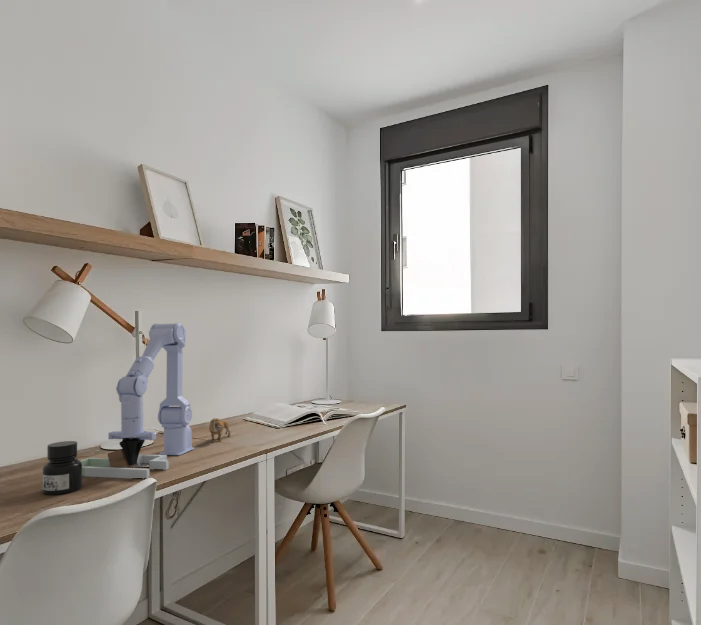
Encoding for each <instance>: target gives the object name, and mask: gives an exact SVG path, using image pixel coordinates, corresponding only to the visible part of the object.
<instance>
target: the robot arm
mask: <svg viewBox="0 0 701 625" xmlns="http://www.w3.org/2000/svg"><path fill="white" fill-rule="evenodd" d="M148 337H149V340H148V342H147V344H146V346H145V348H144V351H143V353H142V355H141V356H138V357H136V358H135V360H134V362H133V363H132V365H131V367H130V368H129V370H128V372H127V373H126V375H125V376H123V377H121V378H120V379H119V380H118V382H117V386H116V389H115V390H116V393H117V394H118V400H119V402H120V406H121V407H120V409H121V410H120V411H121V412H120V413H121V414H120V415H121V417H120V418H121V420H120V421H121V423H120V424H121V428H120V429H121V431H110V432H108V433H107V434H108V435H107V436H108V438H107V439H108V440H121V441H119V446H120V448H121V449H123V451H124V453H125V455H126V458H127V461H128V465H134V464H137V459H138V455H139V454H140V451H141V449H142V447H143V445H144V443H145V442H146V441H147V440H148V441H154V440H157V432H154V431H145V430H144V429H143V427H144V424H143V423H144V422H143V419H144V418H143V416H144V415H143V414H144V413H143V406H144V405H143V404H144V403H143V395H144V394H145V393H146V392H147V388H148V382H149V377H150V375H151V373H152V371H153V369H154V367H155V363H154V361H155V359H156V357H157V355H158V354H159V352H160V351H161V349H162V348H163V349H164V350H165V351H166V394H165V395H166V398H165V399H163V400H162V401H160V403H159V408H158V412H157V421H158V423H159V424H160V425H161V428H163V451H161V452H158V455H167V456H181V455H183V454H185V453H187V452H189V451H192V450H194V449H195V447H193V440H192V439H193V437H192V436H193V430H192V428H191V426H190V425H189V424H190V422H191V421H192V417H193V412H192V409H191V402H190V401H189V400H187V399H186V398H185V397H183V362H184V361H183V355H184V354H183V353H184V352H183V351H184V348H185V347H186V328H185V327H184V325H183V324H182V323H181V322H176V323H175V322H174V323H153V324H151V327H150V328H149V330H148Z"/></svg>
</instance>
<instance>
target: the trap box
mask: <svg viewBox="0 0 701 625" xmlns="http://www.w3.org/2000/svg"><path fill="white" fill-rule="evenodd" d="M80 461H81V463H82V477H86V478H87V477H89V478H91V477H92V478H112V479H113V478H114V479H132V478H143V479H142V480H145V479H144V478H148V477H150V470H154V469H163V470H162V471H167V470H169V468H170V467H169V465H170V464H169V462H170V461H169V460H168V455H159V454H150V453H149V454H145V453H139V455H138V459H137V463H138V465H137V466H135V467H133V468H115V467H111V466H110V462H109V458H108V457H86V458H84V459H80ZM139 464H140V465H139ZM147 465H149V468H138V467H143V466H144V467H145V466H147ZM150 468H151V469H150ZM148 479H149V478H148Z"/></svg>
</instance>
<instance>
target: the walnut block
mask: <svg viewBox="0 0 701 625" xmlns="http://www.w3.org/2000/svg"><path fill="white" fill-rule="evenodd" d="M107 458H109V462H110V467H115V468H132V467H133V468H136V467H135V466H137V465H138V463H137V464H134V465H128V461H127V458H126V455H125V453H124V451H123V449H122V448H120V449H117V450H115V451H112V452H108V453H107Z"/></svg>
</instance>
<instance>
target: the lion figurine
mask: <svg viewBox="0 0 701 625" xmlns="http://www.w3.org/2000/svg"><path fill="white" fill-rule="evenodd" d="M208 427H209V430H208V431H209V432H210V435H211V436H210V438H211V440H210V443H214V442H215V435H217V442H219V443H220V442H222V435H223V430H225V435H226V436H227V437H228V438H230V437H231V430H230V428H229V423H228V421H227V420H225V419H224V420H223V419H222V420H221V419H219V417H218V418H216V417H214V418H212V419H211V420H210V422H209V426H208Z"/></svg>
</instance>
